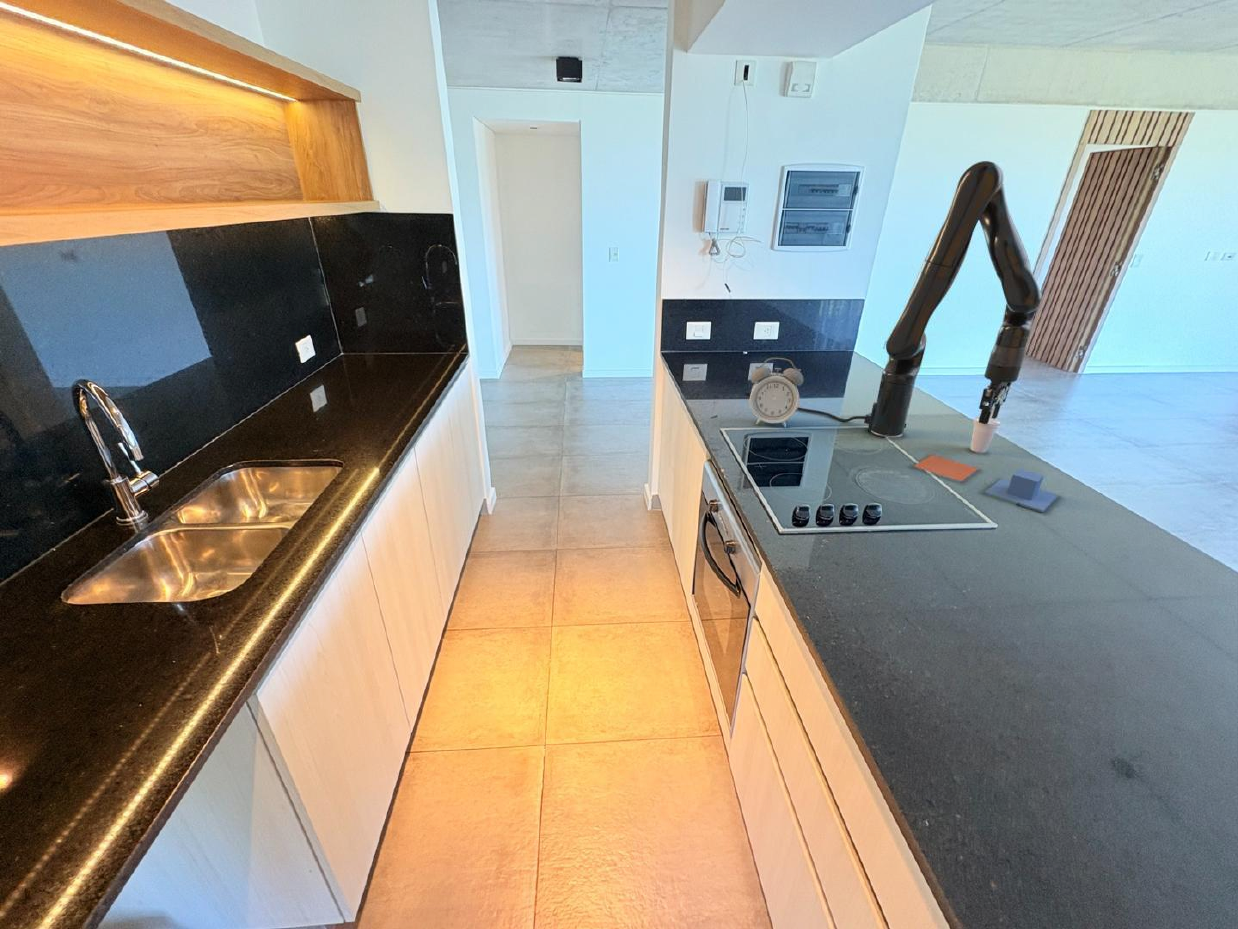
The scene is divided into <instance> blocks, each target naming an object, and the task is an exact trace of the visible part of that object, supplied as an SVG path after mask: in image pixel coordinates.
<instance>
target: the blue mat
mask: <svg viewBox="0 0 1238 929" xmlns="http://www.w3.org/2000/svg"><path fill="white" fill-rule="evenodd" d="M1010 482H1011V480H1009V479H1007V478H1000V479H999V480H998V481H996V482H995V483H994V484H993V485H991V486H990V487H989V488H988V489H987V490H985V491H984V493H985V494H989V495H992V496H995V497H999V498H1001V499H1005V500H1008V501H1011V502H1014V503H1016V505H1017V506H1020V507H1023V508H1026V509H1029V510H1032V511H1035V512H1039V513H1042V514H1043V513H1044V512H1045V511H1046V510H1047V509H1048V508H1049V507H1050V506H1051V505H1052V504H1053V503H1054V502H1055V501H1056V499H1058V497H1059V494H1056V493H1054V492H1050V491H1046V490H1043V489H1040V488H1039V491H1038V493H1037V495H1036V496H1035V497H1034V498H1033V499H1032V500H1028V499H1025V498H1022V497H1018V496H1015V495H1012V494H1009V493H1007V490H1008V488H1009V485H1010Z"/></svg>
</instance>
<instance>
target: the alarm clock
mask: <svg viewBox="0 0 1238 929" xmlns="http://www.w3.org/2000/svg"><path fill="white" fill-rule="evenodd" d="M771 360H782V361H787V362H789V363H790V364H791V365H792V367H789V368H786V369H784V370H783V372H782V373H780V372H779V371H781V370H782V368H781V367H775V368H774V370H775V371H776V372H773V371H772V369H771V368H770V367H768V366H764V365H765V364H766V363H767V362H768V361H771ZM754 367H755V369H754V370H753V371H752V372H751V374H750V377H749V378H750V382H751V384H753V385H752V387H751V391H750V392H751V395H749V406H750V410H751V412H752V413H753V415H754V416H755V417H756V418H757V421H756V423H755V424H756V425H758V424H759V423H761V421H762V422H764V423H768V424H781V423H782V425H783V426H784V428H787V424H786V421H788V420H789V419H791V418H792V417H793V416H794V415H795V413H796V412H797V411H798V410H797V408H798V407H799V405H800V393H799V389H798V387H801V386H802V385H803V383H804V376H803V374H802V373H801V371H802V369H801V368H799V369H798V368H797V367H795V365H794V362H793V361H792V360H790V359H788V358H785V357H770V358H767V359H765V360H764V362H763V363H762V364H761V365H759V366H754Z"/></svg>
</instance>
